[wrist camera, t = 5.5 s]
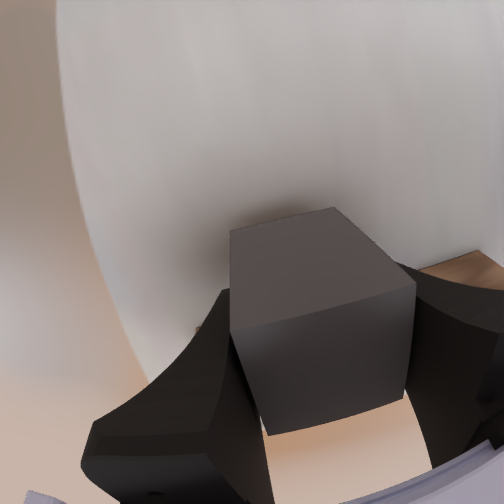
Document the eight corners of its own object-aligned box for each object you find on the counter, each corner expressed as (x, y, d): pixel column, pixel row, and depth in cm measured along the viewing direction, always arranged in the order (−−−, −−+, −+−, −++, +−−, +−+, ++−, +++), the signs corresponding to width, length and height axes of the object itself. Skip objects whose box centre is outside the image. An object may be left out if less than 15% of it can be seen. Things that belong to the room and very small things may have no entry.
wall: (478, 250, 18) (527, 286, 13) (476, 269, 18) (521, 307, 13) (196, 327, 18) (188, 394, 13) (204, 346, 19) (199, 413, 14)
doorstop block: (334, 206, 11) (416, 282, 6) (344, 295, 13) (402, 398, 7) (229, 231, 12) (230, 331, 6) (253, 317, 13) (268, 436, 8)
